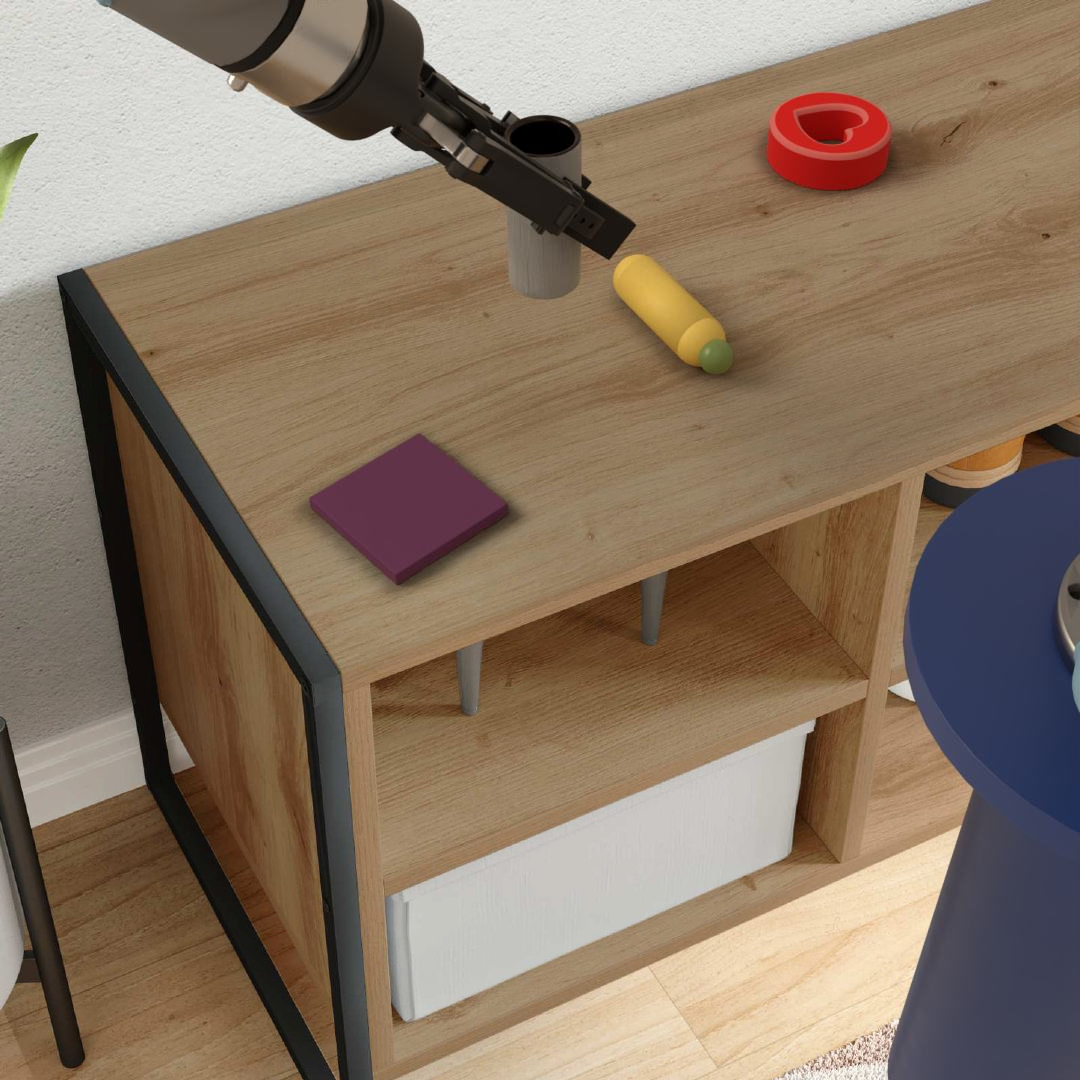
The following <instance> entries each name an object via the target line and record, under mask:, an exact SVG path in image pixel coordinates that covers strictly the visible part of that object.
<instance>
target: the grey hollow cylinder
mask: <svg viewBox="0 0 1080 1080" xmlns="http://www.w3.org/2000/svg"><path fill="white" fill-rule="evenodd" d="M503 138H504V139H505V140H507V141H508V142H509V143H511V144H512V145H514V146H515V147H517V148H518V149H519V150H521V151H522V152H524V153H525V154H526V155H528V156H529V157H531V158H532V159H534V160H535V161H536V162H538V163H539V164H541V165H542V166H544V167H545V168H546V169H548V170H549V171H551V172H552V173H554V174H555V175H556V176H558V177H559V178H561V179H563V177H564V176H565V177H567V178H568V179H570V180H571V181H573V182H574V183H576V184H578V185H579V186H581V173H582V155H583V153H582V151H583V150H582V147H583V146H582V139H583V138H582V132H581V130H580V128H579V127H578V126H577V125H576V124H575V123H574V122H572V121H571V120H569V119H567V118H565V117H561V116H557V115H552V114H536V115H534V114H533V115H530V116H529V115H528V116H525V117H522V118H520V119H519V120H517V121H515V122H514V123H512V124H511V125H510V126H509V127H508V128H507V129H506V131H505V133H504V137H503ZM505 221H506V222H505V223H506V224H505V225H506V247H507V248H506V250H507V273H508V281H509V284H510V286H511V288H513V290H514V291H516V292H517V293H518V294H520V295H521V296H524V297H526V298H529V299H533V300H539V301H540V300H541V301H547V300H555V299H559V298H563V297H565V296H567V295H569V294H571V293H572V292H573V291H575V290H576V289H577V287H578V286H579V284H580V282H581V275H582V244H581V243H580V242H578V241H576V240H575V239H573V238H571V237H570V236H568V235H566V234H565V233H563V232H561V234H560V235H559V236H555V235H554V234H552V235H551V234H550V233H548V232H547V231H546V230H545V232H544V233H543V234H542V235H540V234H538V233H537V232H536V231H535V230H534V229H533V227H532V226H531V225H530V224H531V223H532V221H531V220H529V219H528V218H526V217H524V216H523V215H521V214H519V213H518V212H516V211H514V210H513V209H511V208H509V207H508V206H506V205H505Z"/></svg>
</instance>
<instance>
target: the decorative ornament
mask: <svg viewBox="0 0 1080 1080" xmlns="http://www.w3.org/2000/svg"><path fill="white" fill-rule="evenodd" d="M768 125H769V127H768V137H767V146H766V159H767V162H768V164H769V165H770V167H771V168H772V169H773V171H774V172H775V173H776V174H778V176H780V177H781V178H783V179H785V180H787V181H789V182H791V183H793V184H796V185H799V186H802V187H806V188H809V189H814V190H821V191H845V190H852V189H857V188H860V187H863V186H866V185H868V184H870V183H872V182H873V181H875V180H876V179H877V178H879V177H880V176H881V175H882V174H883V173H884V171H885V170H886V168H887V164H888V159H889V153H890V147H891V141H892V136H893V127H892V126H893V125H892V123H891V120H890V118H889V117H888V116H887V114H886V113H885V111H883V110H882V109H881V108H880V107H879V106H877V105H876V104H874V103H872V102H871V101H869V100H866V99H864V98H862V97H859V96H857V95H853V94H847V93H842V92H841V93H840V92H832V91H831V92H830V91H819V92H809V93H805V94H801V95H798V96H794V97H791V98H790V99H788V100H786V101H784V102H782V103H781V104H779V105H778V106H777V108H776V109H775V110H774V111H773V113H772V114H771V116H770V119H769V124H768ZM819 141H842V142H841V143H838V144H837V143H836V144H827V143H823V142H819Z"/></svg>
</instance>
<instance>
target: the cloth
mask: <svg viewBox="0 0 1080 1080" xmlns="http://www.w3.org/2000/svg"><path fill="white" fill-rule="evenodd" d="M308 500H309V505H310V509H311V510H312V511H313V512H314V513H316V514H317V515H318V516H319V517H320V518H321V519H322V520H324V522H325V523H327V524H328V525H329V526H330V527H331V528H332V529H334V531H335V532H337V533H338V534H339V536H341V537H342V538H344V539H345V540H346V541H347V542H348V543H349V544H350V545H352V546H353V547H354V548H355V549H356V550H357V551H358V552H359V553H360V554H361V555H362V556H364V557H365V558H366V559H367V560H368V561H369V562H370V563H372V564H373V565H374V567H376V568H377V569H378V570H379V571H381V573H383V574H384V575H385V576H386V577H387V578H388V579H389V580H391V581H392V582H393V583H394V584H395V585H396V586H397V585H400V584H401V583H403V582H405V581H406V580H408V579H409V578H411V577H413V576H414V575H416V574H417V573H419V572H420V571H421V570H423V569H425V568H426V567H428V566H430V565H431V564H433V563H434V562H436V561H437V560H439V559H441V558H442V557H444V556H445V555H447V554H448V553H450V552H451V551H453V550H455V549H456V548H458V547H460V546H461V545H462V544H464V543H466V542H467V541H469V540H470V539H472V538H473V537H475V536H477V535H478V534H479V533H481V532H483V531H485V530H486V529H487V528H489V527H491V526H492V525H494V524H495V523H497V522H499V521H500V520H502V519H504V518H505V517H507V515H509V504H508V502H506V501H505V500H504V499H503V498H502V497H500V496H499V495H498V494H497V493H495V492H494V491H493V490H491V489H490V488H489V487H488V486H486V485H485V484H484V483H482V482H481V481H480V480H479V479H478V478H477V477H475V476H474V475H472V474H471V473H470V472H469V471H468V470H467V469H465V468H464V467H463V466H461V465H460V464H459V463H458V462H456V460H454V459H452V458H451V457H450V456H449V455H448V454H446V453H445V452H444V451H443V450H441V449H440V448H439V447H438V446H436V445H435V444H434V443H433V442H432V441H430V440H429V439H427V438H426V437H425V436H424V435H423V434H422V433H420V432H418V433H416V434H415V435H413V436H411V437H410V438H408V439H406V440H404V441H403V442H401V443H399V444H398V445H396V446H394V447H393V448H391V449H389V450H387V451H386V452H384V453H382V454H380V455H379V456H377V457H376V458H374V459H372V460H371V461H368V462H367V463H365V464H363V465H362V466H360V467H359V468H356V469H355V470H353V471H352V472H350V473H348V474H347V475H345V476H343V477H341V478H340V479H338V480H336V481H335V482H333V483H331V484H330V485H327V486H326V487H324V488H323V489H321V490H319V491H318V492H316V493H314V494H313V495H311V496H309V497H308Z"/></svg>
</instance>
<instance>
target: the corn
mask: <svg viewBox="0 0 1080 1080" xmlns="http://www.w3.org/2000/svg"><path fill="white" fill-rule="evenodd" d="M612 283H613V288H614V290H615V293H616V294H617V296H618V297H619V298H620V299H621V300H622V301H623V302H624V303H625V304H626V305H627V306H628V307H629V308H630V309H631V310H632V311H633V312H634V314H636V315H637V316H638V317H639V318H640V319H641V320H642V321H643V322H644V323H645V324H646V325H647V327H648V328H650V330H651V331H653V332H654V333H655V335H657V337H659V338H660V340H662V342H663V343H664V344H665V345H666V346H668V347H669V349H670V350H671V351H672V352H673V353H675V355H676V356H677V357H678V358H679V359H680V360H681V361H683V362H684V363H685V364H686V365H689V366H692V367H698V368H702V370H703V371H704V372H706V373H708V374H711V375H721V374H723V373H725V372H727V371H728V370H729V369H730V368H731V366H732V365H733V363H734V350H733V348H732V347H731V345H730V344H729V343H728V342H727V338H726V332H725V330H724V328H723V326H722V325H721V323H720V321H718V320H717V319H716V318H715V317H714V316H713V315H712V314H711V313H710V312H709V311H708V310H707V308H705V307H704V306H703V305H701V303H700V302H698V301H697V300H696V299H695V298H694V296H692V294H691V293H689V291H687V290H686V289H685V288H684V287H683V286H682V285H681V284H680V283H679V282H678V281H676V279H675V278H674V277H673V276H671V275H670V273H668V272H667V271H666V270H665V268H663V267H662V266H661V264H659V263H658V262H657V261H656V260H655V259H654V258H652V257H650V256H648V255H645V254H641V253H639V254H637V253H635V254H632V255H631V254H630V255H629V256H626V257H625V258H623V259H622V260H620V261H619V263H618V264H617V265H616V267H615V268H614V272H613V277H612Z"/></svg>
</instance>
